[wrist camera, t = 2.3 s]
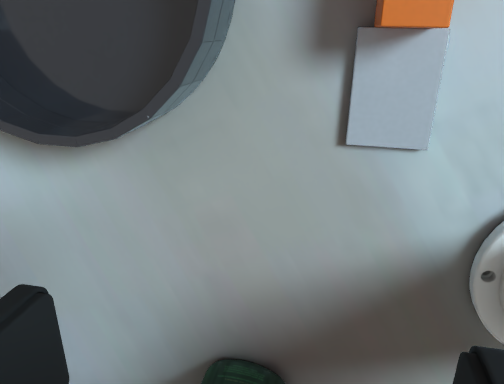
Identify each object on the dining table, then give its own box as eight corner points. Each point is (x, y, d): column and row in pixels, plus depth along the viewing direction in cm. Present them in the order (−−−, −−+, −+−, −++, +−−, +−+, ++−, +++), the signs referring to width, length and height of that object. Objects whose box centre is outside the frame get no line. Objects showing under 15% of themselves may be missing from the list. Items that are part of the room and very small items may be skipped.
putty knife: (484, -171, 20) (519, -220, 16) (426, 148, 26) (441, 168, 22) (378, -164, 21) (387, -209, 17) (345, 142, 27) (346, 161, 23)
